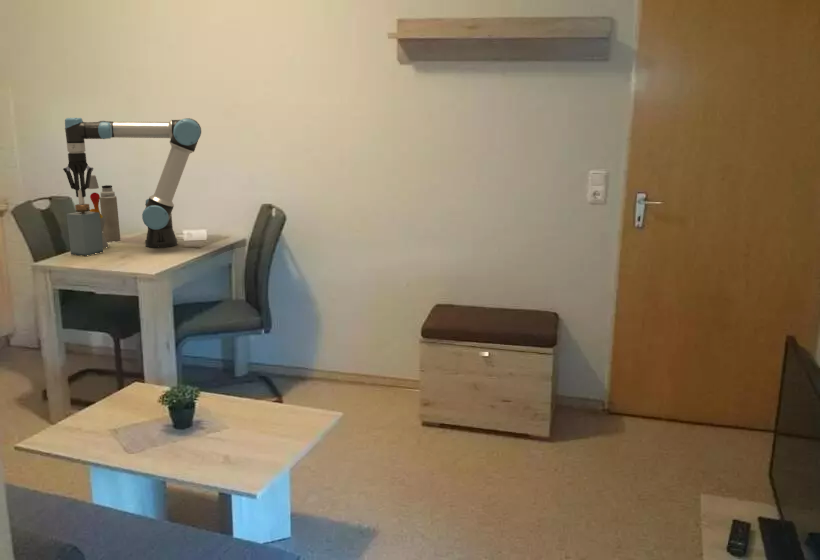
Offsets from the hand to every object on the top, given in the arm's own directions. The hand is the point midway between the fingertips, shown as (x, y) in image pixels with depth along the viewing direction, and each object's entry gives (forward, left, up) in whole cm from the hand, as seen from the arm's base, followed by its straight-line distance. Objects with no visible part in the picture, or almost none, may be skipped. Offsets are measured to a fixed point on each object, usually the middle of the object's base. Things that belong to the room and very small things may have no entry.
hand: (81, 204), depth 355 cm
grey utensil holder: (0, 0, -23) cm, 23 cm away
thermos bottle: (+16, -29, -23) cm, 41 cm away
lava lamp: (+6, -13, -23) cm, 27 cm away
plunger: (0, 0, -22) cm, 22 cm away
